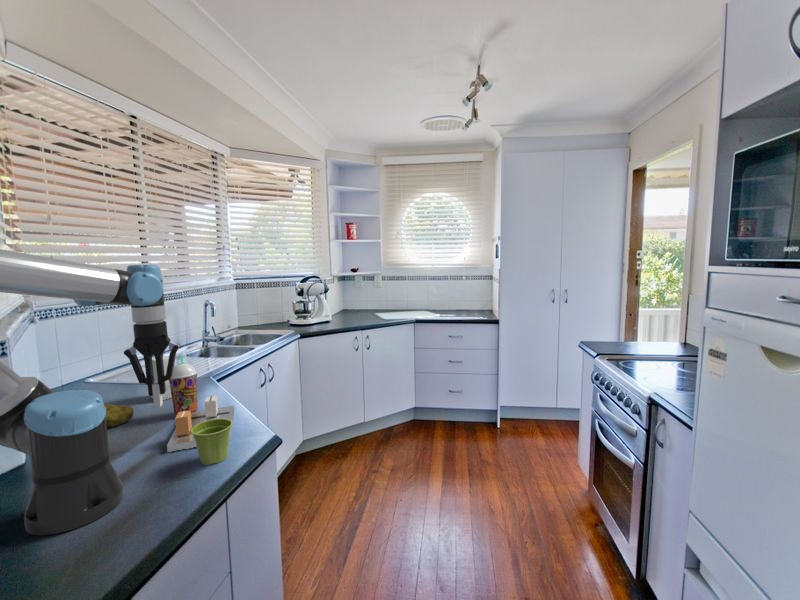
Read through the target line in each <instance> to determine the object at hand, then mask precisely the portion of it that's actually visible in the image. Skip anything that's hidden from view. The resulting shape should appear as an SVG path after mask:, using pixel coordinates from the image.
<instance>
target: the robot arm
mask: <svg viewBox="0 0 800 600" xmlns="http://www.w3.org/2000/svg"><path fill="white" fill-rule="evenodd" d="M163 284H164V279H163V275H162V271H161V268H160V266H159V265H158V264H132V265H131V264H130V265H127V268H126V270H123V269H117V268H112V267H107V266H106V267H105V266H101V265H100V266H99V265H95V264H88V263H83V262H76V261H71V260H65V259H59V258H53V257H48V256H41V255H36V254H31V253H25V252H20V251H19V252H18V251H14V250H8V249H1V248H0V293H5V294H14V295H24V296H25V295H26V296H34V297H35V296H36V297H43V298H57V299H67V300H68V299H69V300H72V301H74V304H76V305H77V306H78V307H79V306H80V307H96V306H105V305H106V306H107V305H109V306H111V305H112V306H130V307H131V319H132V322H133V323H134V324H133V325H132V326H133V337H134V339H133V340H134V341H133V343H132V346H131V347H129V348H126V349H125V350H124V351H123V354H124V356H126V357H127V358H128V359H129V362H130V365H131V368H132V369H133V372H134V375H135V376H136V379H137V381H138V383H139V384H143V385H144V384H145V385H147V392H148V396H149V397H151V396H153V398H152V399H153V407H154V409H157V408H161V407H163V405H164V404H163V403H164V401H163V400H162V394H164V393H165V391H166V387H165V381H167V380H170V378H171V377H172V374H173V368H174V364H175V361H176V357H177V352H178V350H179V349H180V348H181V344H179V343H175V342H172V341H171V338H170V337H169V335H168V326H167V325H168V324H167V321H166V318H167V314H166V306H165V296H164V285H163ZM167 348H168V350H169V351H170V352H169V355H168V356H169V360H168V366H167V371H166V376H165V374H164V364H163V355H164V352H165V351H166V350H167ZM137 352H139V353H140V354H141V355H142V356H143V361H144V368H145V369H143V366H142V364H141V362H140V360H139V357H138V355H137ZM153 357H155V359H156V368H157V377H158V382H154V380H155V379H154V373H153V363H152V358H153ZM144 370H145V371H144ZM107 428H108V427H107V425H106V408H105V407H104V399H103V397H102V396H101V395H100V394H99V393H98V392H95V391H93V390H89V389H79V390H76V389H67V390H61V391H53V390H52V389H51V388H50V387H48V386H47V385H46V384H45V383H43V382H42V381H41V380H40V379H39V378H37V377H36V376H20V375H19V374H18V373H16V372H15V370H12V368H11V367H9V366H7V364H5V363H4V362H3V361H1V360H0V446H2V447H4V448H8V449H13V450H15V451H18V452H20V453H23V454H25V455H28V456H29V460H30V462H29V463H30V468H31V470H30V471H31V477H32V489H31V492H30V495H29V499H28V501H27V505H26V509H25V512H24V517H23V520H24V530H25V531H26V533H28V534H30V535H33V536H49V535H58V534H62V533H64V532H68V531H72V530H75V529H77V528H81V527H82V526H86V525H88V524H90V523H92V522H94V521H96V520H98V519H100V518H102V517H103V516H106V515H107V514H109V513H110V512H111V511H112V510H114V509H115V508H117V506H118V505H119V504H120V503H121V502H122V500H123V498H124V497H125V496H124V495H125V492H124V484H123V481H122V480H121V478H120V476H119V474H118V473H117V472H116V470H115V468H114V466H113V465H112V463H111V460H110V449H109V437H108V429H107Z"/></svg>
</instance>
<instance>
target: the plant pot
mask: <svg viewBox="0 0 800 600" xmlns="http://www.w3.org/2000/svg"><path fill="white" fill-rule="evenodd" d="M231 426H232V427H233V423H232V421H231V420H229V419H213V420H208V421H204V422H202V423H199V424H197V425H195V426H194V427H193V428H192V429H191V434H193V436H194V438H195V440H196V444H197V448H196V449H197V453H198V456H199V457H198V458H199V461H200V463H201V464H203V465H206V466H210V465H212V464H219V463H222V462H223V461H225V460H226V459H227V457H228V453H229V443H230V442H229V432H230V429H231Z"/></svg>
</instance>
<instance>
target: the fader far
mask: <svg viewBox="0 0 800 600" xmlns="http://www.w3.org/2000/svg"><path fill="white" fill-rule="evenodd" d="M205 397H206V398H205V400H204V410H205V413H206V418H207V417H213V416H217V413H218V408H219V407H218V403H219V402H218V396H217V395H211V396H205Z"/></svg>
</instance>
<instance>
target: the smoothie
mask: <svg viewBox="0 0 800 600" xmlns="http://www.w3.org/2000/svg"><path fill="white" fill-rule="evenodd" d="M169 383H170V389H171V395H172V398H171V400H172V401H171V402H172V406H173V407H172V408H173V413H175V415H176V416H177V414H178V412H182V411H189V410H190V411H191V412H195V411H197V409H198V370H196V368H195V367H194V366H193V365H192V364H190V363H188V362H187V363H186V362H184V356H183V355H182V354H181V355H180V363H177V364H176V365H175V367H174V368H173V374H172V377H171V378H170V380H169Z"/></svg>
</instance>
